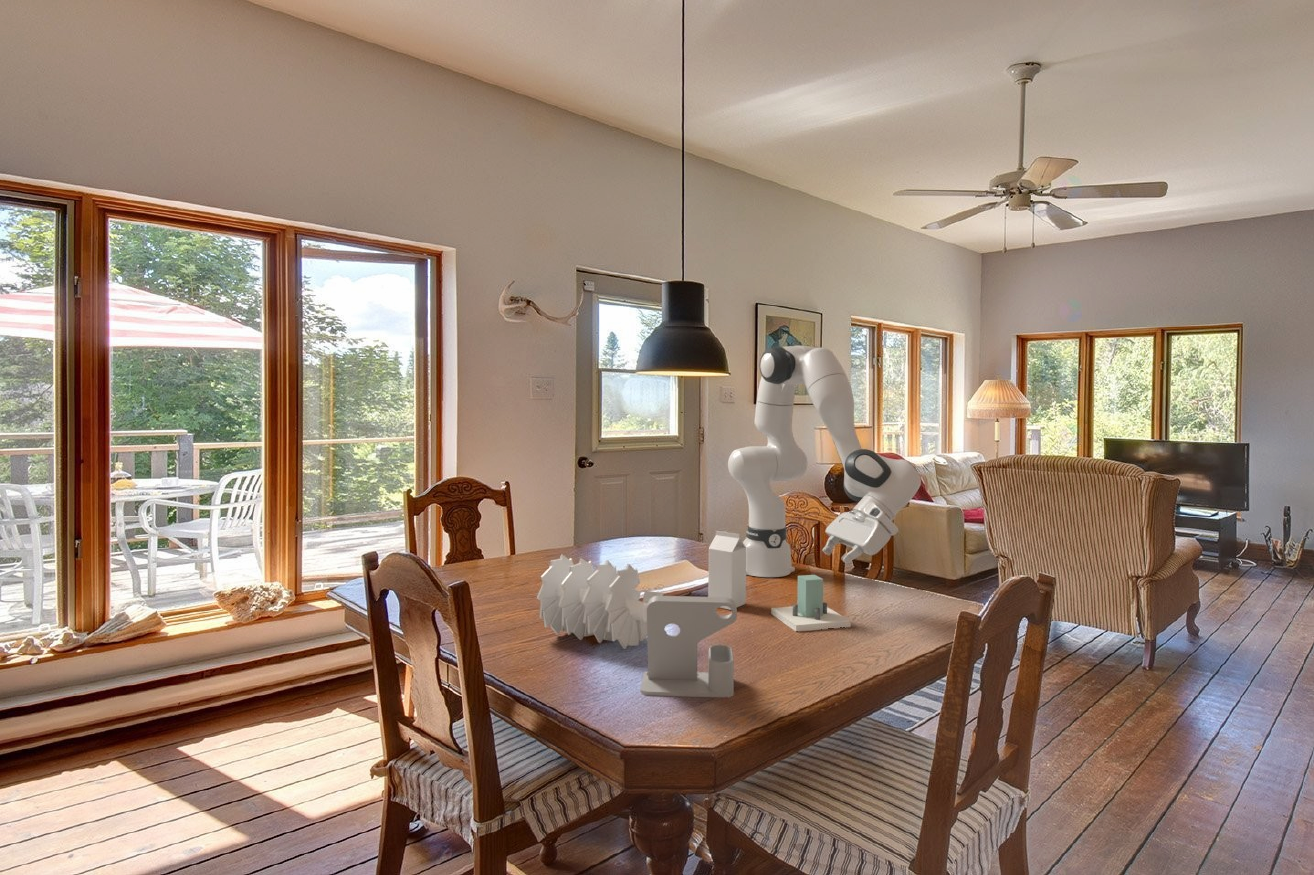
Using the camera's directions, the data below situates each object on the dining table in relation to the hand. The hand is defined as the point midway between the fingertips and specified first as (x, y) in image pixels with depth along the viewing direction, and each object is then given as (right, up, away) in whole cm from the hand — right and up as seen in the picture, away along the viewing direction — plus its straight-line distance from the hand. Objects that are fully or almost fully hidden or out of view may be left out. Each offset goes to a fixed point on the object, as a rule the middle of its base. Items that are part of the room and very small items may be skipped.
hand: (834, 557), depth 177 cm
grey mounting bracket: (-37, -18, -41) cm, 58 cm away
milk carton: (-25, -15, +12) cm, 31 cm away
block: (-6, -14, -1) cm, 15 cm away
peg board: (-6, -15, -1) cm, 16 cm away
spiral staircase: (-56, -16, -15) cm, 60 cm away
